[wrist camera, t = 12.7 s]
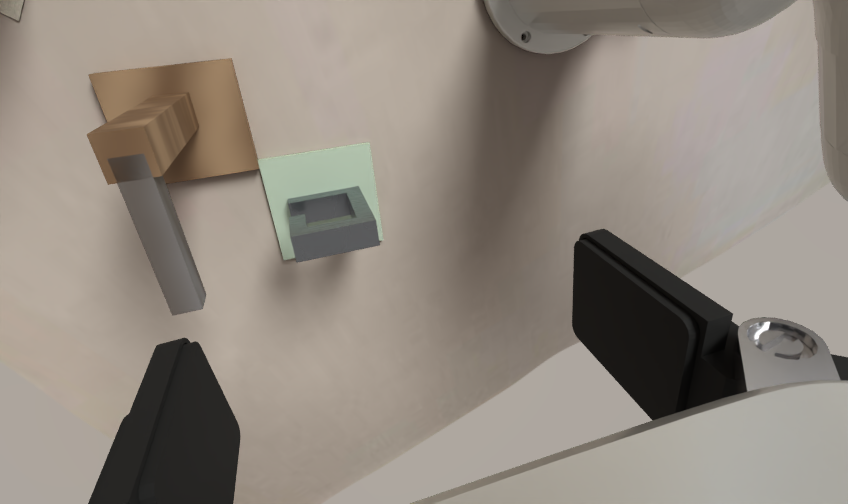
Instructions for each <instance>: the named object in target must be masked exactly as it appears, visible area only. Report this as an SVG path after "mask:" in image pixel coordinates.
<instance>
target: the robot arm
mask: <svg viewBox="0 0 848 504" xmlns="http://www.w3.org/2000/svg"><path fill="white" fill-rule="evenodd" d="M796 1H797V0H484V3H485V6H486V9H487V12H488V14H489V16H490V18H491V20H492V22H493V23H494V25H495V26H496V28H497V29H498V30H499V32H500V33H501V34H502V35H503V36H504V37H505V38H506V39H507V40H508V41H510V42H511V43H512V44H513V45H515V46H517V47H519V48H521V49H523V50H525V51H529V52H534V53H540V54H554V53H562V52H564V51H567V50H570V49H573V48H575V47H577V46H578V45H580V44H582V43H583V42H585V41H587V40H588V39H589V38H590V37H591V36H592V35H618V36H649V37H681V38H718V37H725V36H730V35H734V34H738V33H741V32H743V31H746V30H749V29H751V28H754V27H756V26H758V25H760V24H762V23H764V22H766V21H767V20H769V19H771V18H773V17H774V16H776V15H777V14H779V13H780V12H782V11H783V10H785V9H786V8H788V7H789V6H790V5H792V4H793V3H794V2H796ZM813 5H814V19H815V36H816V40H817V42H818V76H819V111H820V128H821V144H822V153H823V161H824V165H825V169H826V172H827V175H828V177H829V179H830V181H831V183H832V185H833V186H834V188H835V189H836V190H837V191H838V193H839V194H840V195H841V196H842V197H843V198H844V199H845V200H846V201H848V0H813ZM522 34H523V39H522V40H521V36H522ZM732 316H733V314H732V313H731V312H729V311H728V310H726V309H725V308H723V307H722V306H720V305H719V304H717V303H716V302H714V301H713V300H711V299H710V298H708V297H707V296H705V295H704V294H702V293H701V292H699V291H698V290H696V289H695V288H693V287H692V286H690V285H689V284H687V283H686V282H684V281H683V280H681V279H680V278H678V277H677V276H675V275H674V274H672V273H671V272H669V271H668V270H666V269H665V268H663V267H662V266H660V265H659V264H657V263H656V262H654V261H653V260H651V259H650V258H648V257H647V256H645V255H644V254H642V253H641V252H639V251H638V250H636V249H635V248H633V247H632V246H630V245H629V244H627V243H626V242H624V241H623V240H621V239H620V238H618V237H617V236H615V235H614V234H612V233H611V232H609V231H608V230H605V229H600V230H596V231H592V232H589V233H585V234H582V235H581V236H580V238H579V241H577V242H576V243H575V246H574V274H573V312H572V326H573V330H574V333H575V335H576V336H577V338H578V339H579V340H580V341H581V342H582V343H583V344H584V345H585V346H586V347H587V349H588V350H589V351H590V352H591V353H592V354H593V355H594V356H595V357H596V358H597V360H598V361H599V362H600V363H601V364H602V365H603V366H604V367H605V369H606V370H607V371H608V372H609V373H610V374H611V375H612V376H613V377H614V378H615V380H616V381H617V382H618V383H619V384H620V385H621V386H622V387H623V388H624V389H625V391H626V392H627V393H628V394H629V395H630V396H631V397H632V398H633V399H634V400H635V402H636V403H637V404H638V405H639V406H640V407H641V408H642V409H643V410H644V411H645V412H646V414H647V415H648V416H649V417H650V418H651V419H652V420H653V421H650V422H648V423H645V424H641V425H638V426H635V427H632V428H630V429H627V430H624V431H621V432H618V433H615V434H612V435H609V436H606V437H603V438H600V439H597V440H594V441H591V442H588V443H585V444H582V445H579V446H576V447H573V448H570V449H567V450H564V451H561V452H559V453H555V454H553V455H550V456H547V457H544V458H541V459H538V460H535V461H532V462H529V463H526V464H523V465H521V466H518V467H515V468H512V469H509V470H506V471H503V472H500V473H497V474H494V475H491V476H488V477H485V478H483V479H480V480H477V481H474V482H471V483H468V484H465V485H462V486H460V487H457V488H454V489H451V490H448V491H445V492H442V493H439V494H436V495H433V496H431V497H428V498H425V499H422V500H419V501H416V502H413V503H410V504H848V357H842V356H837V355H832V354H830V352H829V349H828V347H827V345H826V343H825V342H824V341H823V339H822V338H821V337H819V336H818V335H817V334H816V333H815V332H813V331H811V330H810V329H808V328H806V327H804V326H802V325H799V324H797V323H794V322H791V321H788V320H783V319H778V318H766V317H762V318H753V319H750V320H747V321H745V322H743V323H742V324H741V325H740V326H738V325H736V324H735V323H733V322H732V321H731V320H732ZM239 446H240V429H239V425H238V423H237V420H236V418H235V416H234V414H233V412H232V410H231V408H230V406H229V404H228V402H227V400H226V398H225V396H224V394H223V391H222V389H221V387H220V385H219V383H218V381H217V379H216V377H215V375H214V373H213V371H212V369H211V367H210V365H209V363H208V361H207V358H206V356H205V354H204V352H203V350H202V348H201V346H200V345H199V343H198V342H192V343H190V341H189V340H188V339H187V338H182V339H178V340H174V341H170V342H166V343H163V344H159V345H157V346H156V348H155V350H154V353H153V355H152V358H151V360H150V363H149V365H148V368H147V370H146V373H145V375H144V378H143V380H142V383H141V385H140V388H139V390H138V393H137V395H136V398H135V400H134V403H133V405H132V408H131V410H130V413H129V414H128V415H127V416H126V417H124V419H123V421H122V423H121V425H120V427H119V430H118V432H117V434H116V437H115V439H114V442H113V444H112V447H111V449H110V452H109V454H108V457H107V459H106V461H105V464H104V466H103V469H102V471H101V474H100V476H99V479H98V481H97V483H96V486H95V489H94V491H93V493H92V496H91V498H90V501H89V503H88V504H233V500H234V491H235V482H236V473H237V464H238V455H239Z"/></svg>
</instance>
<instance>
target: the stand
mask: <svg viewBox="0 0 848 504" xmlns="http://www.w3.org/2000/svg"><path fill="white" fill-rule="evenodd" d="M89 78H90V80H91V83H92V85H93V88H94V90H95V93H96V95H97V98H98V100H99V103H100V105H101V108H102V110H103V113H104V115H105V118H106V120H107V123H106V124H104V125H102V126H100V127H99V128H97V129H95V130H94V131H92V132H90V133H88V134H87V137H88V139H89V141H90V144H91V146H92V148H93V151H94V153H95V155H96V158H97V160H98V162H99V165H100V167H101V169H102V172H103V174H104V176H105V179H106V181H107V183H108V185H109V184H115V183H117V184H118V186H119V189H120V191H121V193H122V196H123V198H124V201H125V203H126V205H127V208H128V210H129V213H130V215H131V217H132V220H133V222H134V225H135V227H136V229H137V232H138V234H139V237H140V239H141V241H142V244H143V246H144V249H145V251H146V253H147V256H148V258H149V261H150V263H151V265H152V268H153V270H154V273H155V275H156V277H157V280H158V282H159V285H160V287H161V289H162V292H163V294H164V296H165V299H166V301H167V304H168V306H169V308H170V311H171V313H172V316H173V315H177V314H182V313H187V312H191V311H196V310H201V309H203V306H204V302H205V298H206V292H205V290H204V287H203V284H202V281H201V279H200V276H199V273H198V271H197V268H196V265H195V262H194V260H193V257H192V254H191V251H190V249H189V246H188V243H187V240H186V238H185V235H184V232H183V230H182V227H181V224H180V221H179V219H178V216H177V213H176V210H175V208H174V205H173V202H172V199H171V197H170V194H169V191H168V189H167V186H166V184H169V183H175V182H181V181H188V180H194V179H200V178H206V177H213V176H219V175H225V174H231V173H238V172H244V171H250V170H256V169H259V164H258V158H257V154H256V150H255V146H254V142H253V139H252V135H251V131H250V127H249V123H248V119H247V116H246V112H245V108H244V104H243V100H242V96H241V93H240V89H239V85H238V81H237V77H236V73H235V70H234V66H233V62H232V58H229V59H220V60H211V61H202V62H193V63H184V64H175V65H166V66H157V67H148V68H138V69H129V70H120V71H111V72H102V73H93V74H90V75H89Z"/></svg>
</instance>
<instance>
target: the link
mask: <svg viewBox="0 0 848 504" xmlns="http://www.w3.org/2000/svg"><path fill="white" fill-rule="evenodd" d="M288 206H289V210H290V214H291V217H289V228H290V239H291V243H292V246H293V250H294V254H295V258H296V262H302V261H307V260H312V259H316V258H321V257H326V256H331V255H335V254H340V253H345V252H350V251H354V250H359V249H364V248H369V247H373V246H378V245H380V242H379V236H378V229H377V223H376V219H375V217H374V215H373V213H372V211H371V209H370V207H369V205H368V203H367V201H366V200H365V198H364V196H363V194H362V192H361V190H360V188H359V186H356V187H350V188H345V189H339V190H334V191H328V192H323V193H317V194H312V195H306V196H300V197H295V198H289V199H288ZM348 215H351V217H352V218H351V219H345V220H340V221H335V222H330V223H325V224H320V225H315V226H310V227H308V225H307V223H312V222H317V221H322V220H327V219H332V218H338V217H343V216H348Z"/></svg>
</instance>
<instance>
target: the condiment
mask: <svg viewBox="0 0 848 504" xmlns="http://www.w3.org/2000/svg"><path fill="white" fill-rule="evenodd" d="M23 2H24V0H0V13H2V14H4V15H6V16H9V17H11V18H13V19H15V20H17V21H19V18H20V15H21V9H22V5H23Z"/></svg>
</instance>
